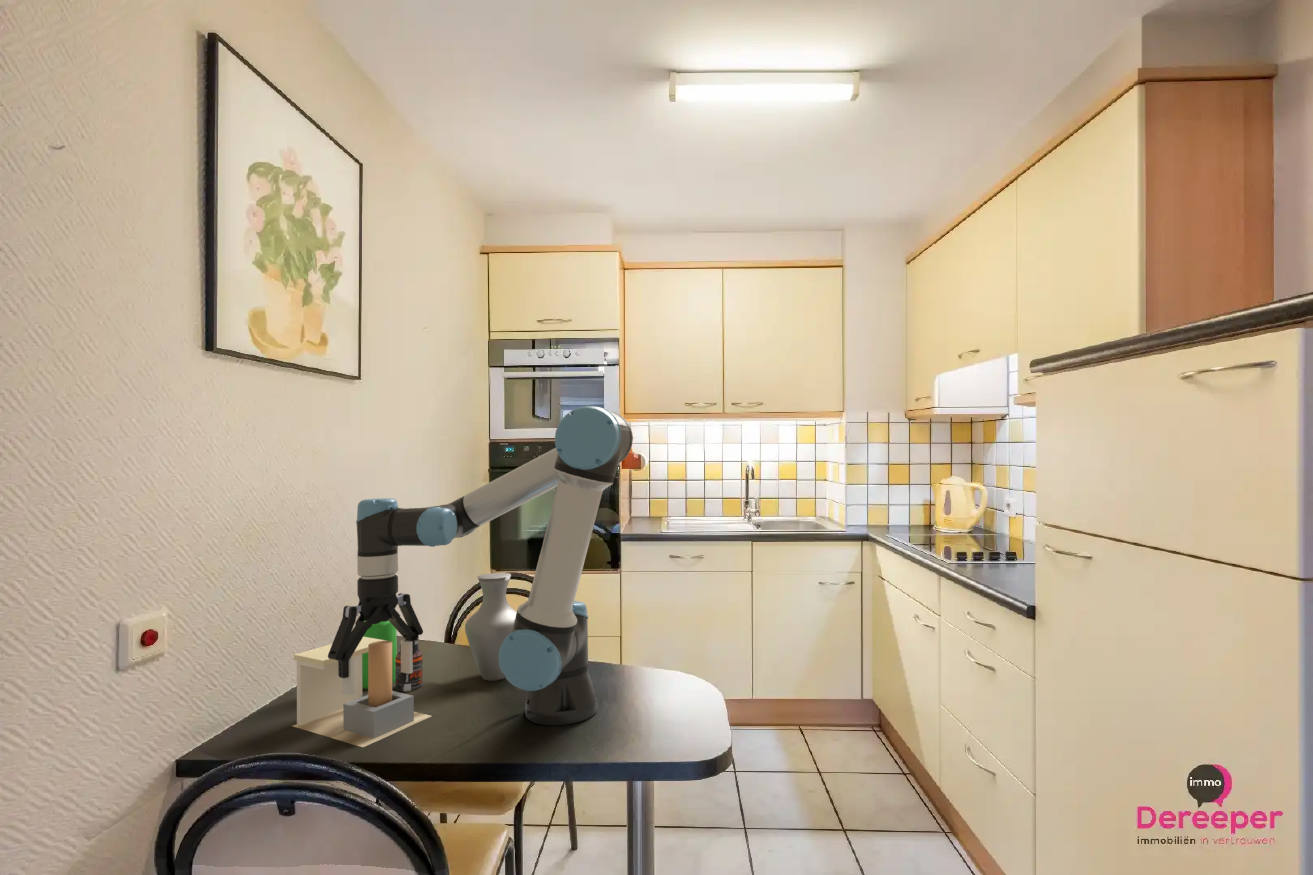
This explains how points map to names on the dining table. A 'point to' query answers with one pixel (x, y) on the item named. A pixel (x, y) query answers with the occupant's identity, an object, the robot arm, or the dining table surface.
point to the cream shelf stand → (325, 682)
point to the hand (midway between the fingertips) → (378, 682)
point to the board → (335, 729)
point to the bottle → (383, 633)
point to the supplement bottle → (414, 679)
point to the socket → (378, 715)
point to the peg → (379, 673)
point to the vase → (490, 625)
